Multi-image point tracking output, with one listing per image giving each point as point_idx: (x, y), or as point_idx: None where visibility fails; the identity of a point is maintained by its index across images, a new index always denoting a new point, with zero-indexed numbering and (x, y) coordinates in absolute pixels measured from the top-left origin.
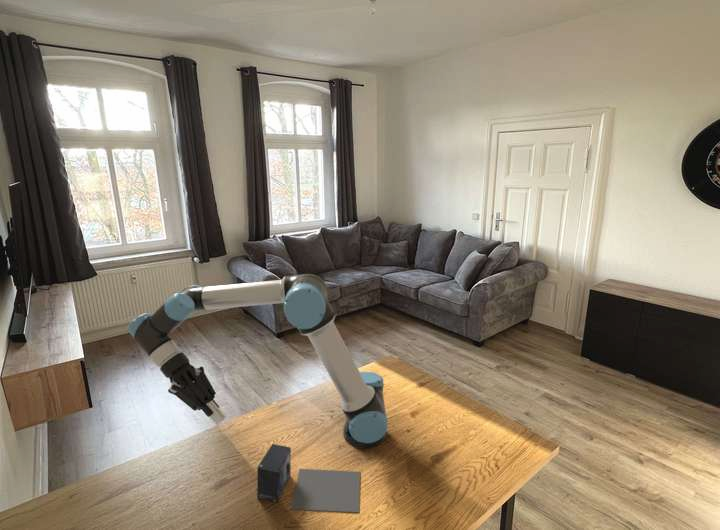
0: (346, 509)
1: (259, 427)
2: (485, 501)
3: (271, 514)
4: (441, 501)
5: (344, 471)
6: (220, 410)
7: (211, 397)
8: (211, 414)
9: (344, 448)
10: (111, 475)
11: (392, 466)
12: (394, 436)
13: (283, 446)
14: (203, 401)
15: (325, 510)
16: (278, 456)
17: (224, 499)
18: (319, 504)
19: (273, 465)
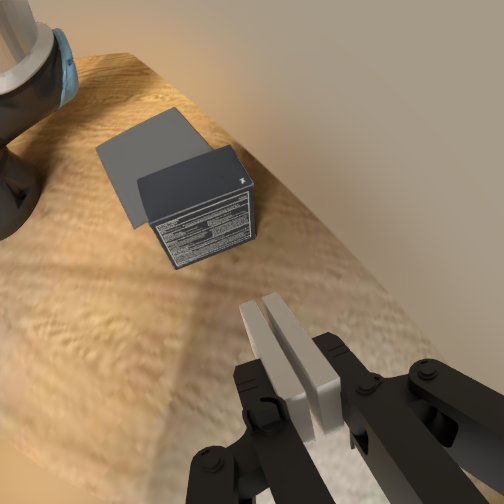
0: (178, 118)
1: (68, 429)
2: (96, 58)
3: (263, 191)
4: (111, 73)
5: (103, 163)
6: (252, 332)
7: (273, 422)
8: (327, 332)
9: (48, 204)
10: None
11: (68, 129)
12: None
13: (142, 194)
14: (378, 399)
15: (198, 134)
16: (184, 174)
17: (307, 294)
18: (193, 146)
19: (220, 160)
